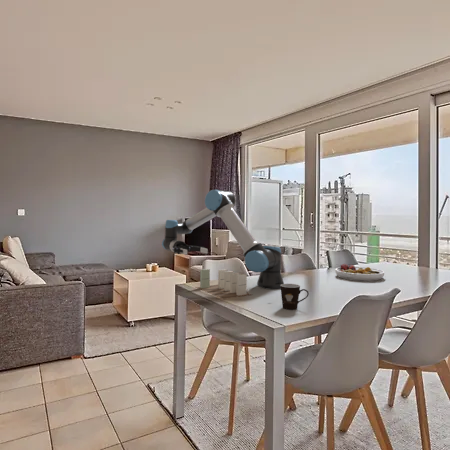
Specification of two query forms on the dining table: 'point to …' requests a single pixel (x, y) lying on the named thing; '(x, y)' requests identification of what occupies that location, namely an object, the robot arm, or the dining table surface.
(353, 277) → the bowl
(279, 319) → the dining table surface
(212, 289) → the board
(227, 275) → the domino
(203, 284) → the domino
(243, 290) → the domino
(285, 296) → the coffee mug
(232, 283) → the domino
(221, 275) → the domino
